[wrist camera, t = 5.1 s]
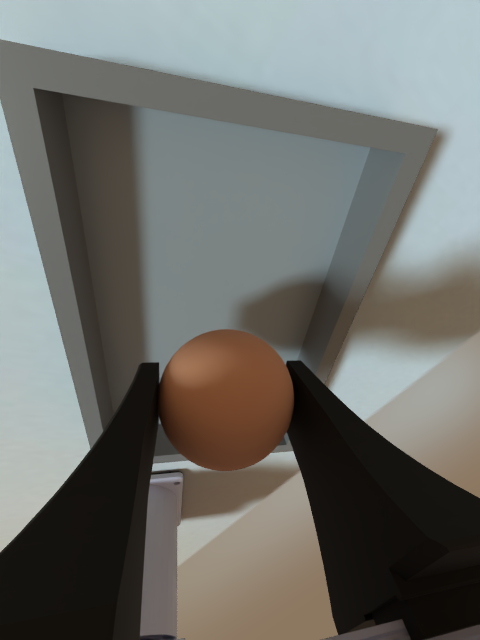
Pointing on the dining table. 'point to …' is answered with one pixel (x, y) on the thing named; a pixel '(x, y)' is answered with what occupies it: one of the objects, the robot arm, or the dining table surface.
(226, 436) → the ball
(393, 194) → the walled pen
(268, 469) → the dining table surface
